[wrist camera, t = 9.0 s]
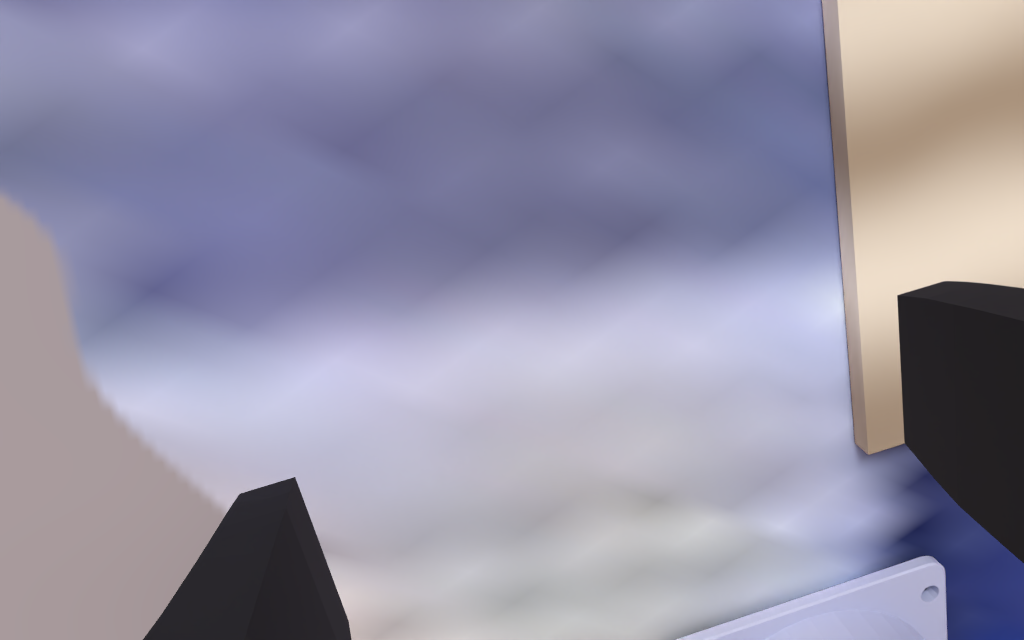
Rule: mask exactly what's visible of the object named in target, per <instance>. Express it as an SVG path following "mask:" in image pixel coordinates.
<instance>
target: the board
mask: <svg viewBox="0 0 1024 640" xmlns="http://www.w3.org/2000/svg"><path fill="white" fill-rule="evenodd" d="M822 8H823V21H824V35H825V48H826V61H827V75H828V88H829V102H830V115H831V128H832V142H833V155H834V168H835V182H836V195H837V209H838V222H839V235H840V249H841V262H842V275H843V289H844V302H845V316H846V329H847V342H848V356H849V369H850V382H851V396H852V409H853V422H854V436H855V444H857V445H858V446H859V447H860V448H861V449H862V450H863V451H864V452H866V453H867V454H868V455H870V454H873V453H876V452H879V451H882V450H886V449H889V448H892V447H895V446H898V445H901V444H904V443H905V442H904V423H903V403H902V382H901V362H900V342H899V321H898V301H897V295H900V294H903V293H906V292H910V291H913V290H916V289H920V288H923V287H926V286H930V285H933V284H936V283H940V282H943V281H960V282H975V283H985V284H994V285H1002V286H1010V287H1018V288H1024V0H822Z"/></svg>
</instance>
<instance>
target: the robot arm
mask: <svg viewBox="0 0 1024 640" xmlns="http://www.w3.org/2000/svg"><path fill="white" fill-rule="evenodd" d="M897 301H898V321H899V342H900V362H901V382H902V403H903V423H904V442H905V444H906V445H907V446H908V447H909V448H910V450H911V451H912V452H913V453H914V454H915V456H916V457H917V458H918V459H919V461H920V462H921V463H922V464H923V465H924V467H925V468H926V469H927V470H928V471H929V473H930V474H931V475H932V476H933V477H934V479H935V480H936V481H937V482H938V483H939V484H940V485H941V486H942V488H943V489H944V490H945V491H946V492H947V493H948V494H949V495H950V496H951V498H952V499H953V500H954V501H955V502H956V503H957V504H958V505H959V506H960V507H961V508H962V509H963V510H964V511H965V512H966V513H968V514H969V515H970V516H971V517H972V518H973V519H974V520H975V521H976V522H978V523H979V524H980V525H981V526H982V527H983V528H984V529H985V530H987V531H988V532H989V533H990V534H991V535H992V536H993V537H994V538H996V539H997V540H998V541H999V542H1000V543H1001V544H1002V545H1003V546H1005V547H1006V548H1007V549H1008V550H1009V551H1010V552H1011V553H1013V554H1014V555H1015V556H1016V557H1017V558H1018V559H1020V560H1021V561H1022V562H1023V563H1024V288H1018V287H1010V286H1002V285H994V284H985V283H975V282H960V281H943V282H940V283H936V284H933V285H930V286H926V287H923V288H920V289H916V290H913V291H910V292H906V293H903V294H900V295H897ZM927 587H928V588H927ZM925 588H927V589H926V590H925ZM143 640H351V634H350V628H349V622H348V619H347V616H346V613H345V611H344V608H343V605H342V603H341V600H340V597H339V594H338V592H337V589H336V586H335V584H334V581H333V578H332V576H331V573H330V570H329V568H328V565H327V562H326V559H325V557H324V554H323V551H322V549H321V546H320V543H319V541H318V538H317V535H316V533H315V530H314V527H313V524H312V522H311V519H310V516H309V514H308V511H307V508H306V506H305V503H304V500H303V497H302V495H301V492H300V489H299V487H298V484H297V481H296V479H295V477H294V478H291V479H288V480H284V481H281V482H278V483H274V484H271V485H268V486H264V487H261V488H258V489H254V490H251V491H248V492H245V493H241V494H240V495H239V496H238V497H237V499H236V500H235V502H234V503H233V505H232V506H231V508H230V509H229V511H228V512H227V514H226V516H225V517H224V519H223V520H222V522H221V523H220V525H219V527H218V528H217V530H216V531H215V533H214V535H213V536H212V538H211V540H210V541H209V543H208V544H207V546H206V547H205V549H204V551H203V552H202V554H201V555H200V557H199V559H198V560H197V562H196V563H195V565H194V566H193V568H192V569H191V571H190V572H189V574H188V575H187V577H186V579H185V580H184V581H183V583H182V584H181V586H180V587H179V589H178V591H177V592H176V594H175V595H174V597H173V598H172V600H171V601H170V603H169V604H168V606H167V607H166V609H165V610H164V612H163V613H162V615H161V616H160V617H159V619H158V620H157V621H156V623H155V624H154V626H153V627H152V628H151V630H150V631H149V632H148V634H147V635H146V636H145V638H144V639H143ZM676 640H947V612H946V579H945V569H944V567H943V566H942V565H941V564H940V563H939V562H938V561H937V560H936V559H935V558H934V557H931V556H922V557H918V558H915V559H913V560H910V561H907V562H904V563H901V564H898V565H895V566H892V567H889V568H886V569H883V570H880V571H877V572H874V573H871V574H868V575H865V576H862V577H859V578H856V579H853V580H850V581H847V582H844V583H842V584H839V585H836V586H833V587H830V588H827V589H824V590H821V591H818V592H815V593H812V594H809V595H806V596H803V597H800V598H797V599H794V600H791V601H788V602H785V603H782V604H779V605H776V606H773V607H770V608H768V609H765V610H762V611H759V612H756V613H753V614H750V615H747V616H744V617H741V618H738V619H735V620H732V621H729V622H726V623H723V624H720V625H717V626H714V627H711V628H708V629H705V630H702V631H699V632H697V633H694V634H691V635H688V636H685V637H682V638H679V639H676Z"/></svg>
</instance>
